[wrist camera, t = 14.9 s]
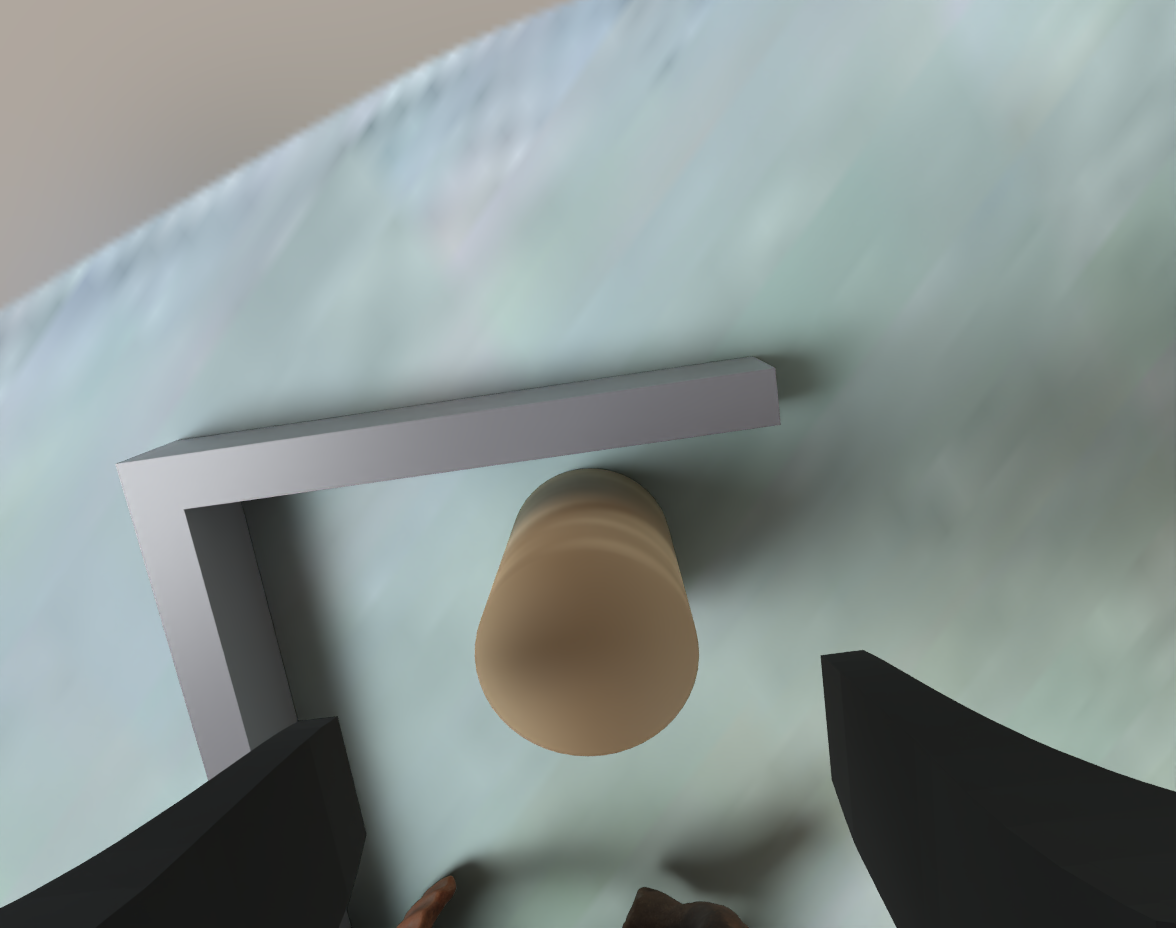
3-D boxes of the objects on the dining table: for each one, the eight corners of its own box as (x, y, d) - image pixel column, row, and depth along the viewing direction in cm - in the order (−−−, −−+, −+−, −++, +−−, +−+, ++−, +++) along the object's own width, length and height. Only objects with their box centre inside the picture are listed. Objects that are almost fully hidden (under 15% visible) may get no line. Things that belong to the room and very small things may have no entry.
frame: (752, 356, 19) (775, 368, 16) (827, 1094, 24) (852, 1188, 21) (176, 440, 19) (115, 464, 17) (367, 1140, 24) (341, 1235, 22)
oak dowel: (659, 457, 19) (684, 536, 14) (679, 608, 20) (710, 742, 14) (499, 480, 20) (456, 567, 14) (525, 628, 20) (495, 768, 15)
